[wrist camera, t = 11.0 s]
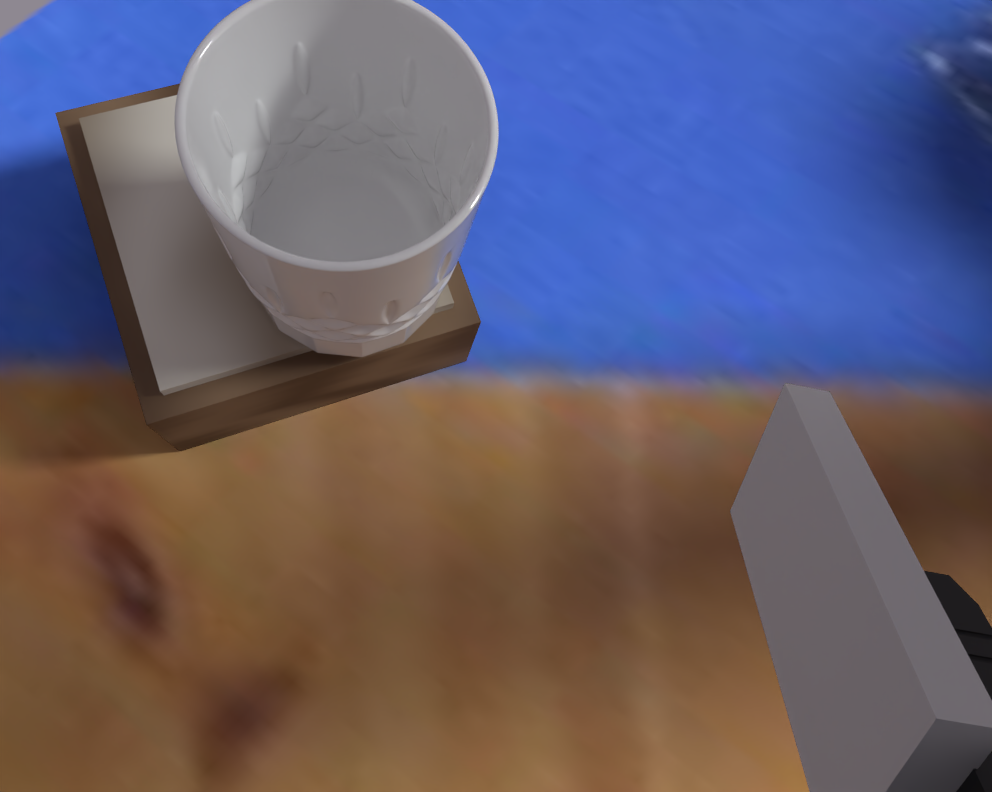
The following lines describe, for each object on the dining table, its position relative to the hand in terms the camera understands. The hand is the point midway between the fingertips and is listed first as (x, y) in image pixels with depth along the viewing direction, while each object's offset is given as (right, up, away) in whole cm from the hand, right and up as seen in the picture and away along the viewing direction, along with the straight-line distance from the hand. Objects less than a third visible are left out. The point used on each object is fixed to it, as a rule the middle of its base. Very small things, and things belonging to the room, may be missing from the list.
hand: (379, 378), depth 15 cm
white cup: (-3, +4, +17) cm, 18 cm away
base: (-7, +5, +23) cm, 24 cm away
